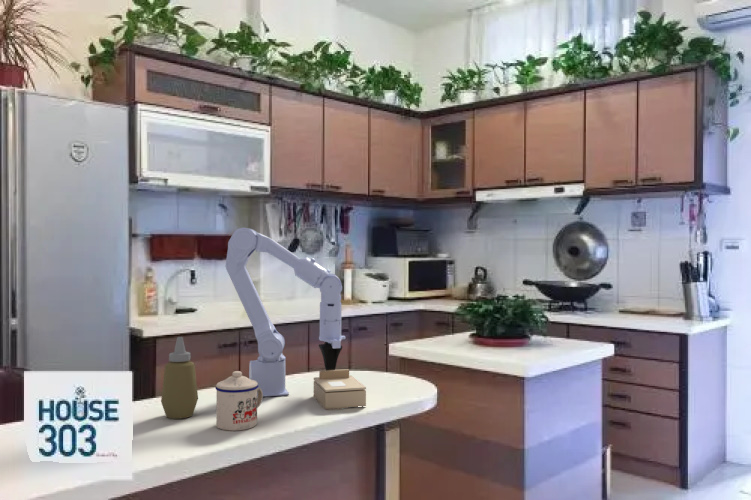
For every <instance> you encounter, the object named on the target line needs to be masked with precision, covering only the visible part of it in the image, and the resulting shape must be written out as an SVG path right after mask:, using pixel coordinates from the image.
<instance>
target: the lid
mask: <svg viewBox="0 0 751 500" xmlns="http://www.w3.org/2000/svg"><path fill="white" fill-rule="evenodd" d="M318 372H319V374H318V377H316V376H315V377H313V381H316V383H317V384H318V385H319V386H320V387H321V388H322V389H323V390H324V391H325V392H333V391H348V390H364V389H365V390H367V387H366V386H365V385H364V384H362V383H361V382H360V381H359V380H358V379H356V377H354V376H352V375H350V369H348V368H347V369H345V368H343V369H335V370H326V369H325V370H324V369H323V370H318Z"/></svg>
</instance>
